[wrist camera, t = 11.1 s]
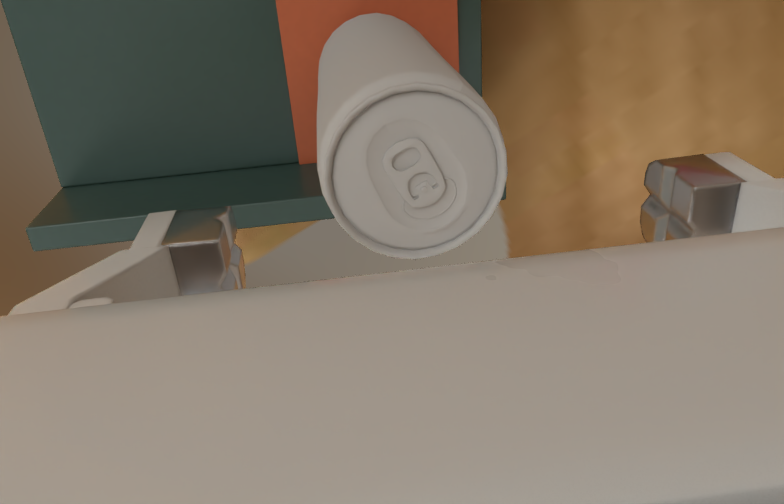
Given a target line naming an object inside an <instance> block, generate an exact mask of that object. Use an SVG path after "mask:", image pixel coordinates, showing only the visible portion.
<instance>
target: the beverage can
mask: <svg viewBox="0 0 784 504" xmlns="http://www.w3.org/2000/svg"><path fill="white" fill-rule="evenodd" d="M317 170H318V175H319V180H320V185H321V190H322V194H323V196H324V198H325V200H326V202H327V204H328V206H329V208H330V210H331V212H332V214H333V215H334V217H335V219H336V221H337V222H338V224H339V225H340V226H341V227H342V228H343V229H344V230H345V231H346V232H347V233H348V235H350V237H351V238H352V239H353V240H355V241H356V242H358V243H360V244H361V245H363V246H364V247H366V248H368V249H369V250H371V251H373V252H376V253H379V254H382V255H385V256H389V257H392V258H403V259H420V258H427V257H432V256H438V255H440V254H443V253H445V252H448V251H450V250H452V249H455V248H457V247H459V246H460V245H462V244H463V243H465V242H466V241H468V240H469V239H470V238H472V237H473V236H474V235H476V234H477V233H478V232H479V231H480V230H481V229H482V227H483V226H484V225H485V224H486V223H487V222H488V220H489V219H490V218H491V217H492V215H493V214H494V212H495V210H496V208H497V206H498V204H499V202H500V200H501V198H502V196H503V192H504V187H505V183H506V178H507V174H508V172H507V155H506V148H505V145H504V140H503V137H502V134H501V131H500V128H499V125H498V122H497V119H496V117H495V115H494V114H493V113H492V111H491V110H490V108H489V107H488V106H487V104H486V103H485V101H484V100H483V99H482V97H481V96H480V95H479V94H478V93H477V92H476V91H475V89H474V88H473V87H472V86H471V85H470V84H469V83H468V82H467V81H466V80H465V79H464V78H463V77H462V76H461V75H460V74H459V73H458V72H457V71H456V70H455V69H454V68H453V67H452V66H451V65H450V64H449V63H448V62H447V61H446V60H445V59H444V58H443V57H442V56H441V55H440V54H439V53H438V52H437V51H436V50H435V49H434V48H433V47H432V46H431V44H430V43H429V42H428V41H427V40H426V39H425V38H424V37H423V36H422V35H421V33H420V32H419V31H417V30H416V29H414V28H413V27H412V26H410V25H409V24H408V23H406V22H404V21H402V20H400V19H398V18H396V17H394V16H392V15H386V14H381V13H371V14H364V15H359V16H357V17H355V18H352V19H350V20H348V21H346V22H344V23H343V24H342V25H341V26H340V27H338V28H337V29H336V30H335V31H334V32H333V33H332V34H331V36H330V37H329V39H328V40H327V42H326V43H325V45H324V47H323V51H322V54H321V57H320V60H319V70H318V101H317Z"/></svg>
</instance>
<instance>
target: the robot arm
mask: <svg viewBox="0 0 784 504" xmlns="http://www.w3.org/2000/svg"><path fill="white" fill-rule="evenodd" d="M644 186H645V187H646V189H647V190H648V192H649V193H650V195H649V197H648V198H647V199H646V201H645V202H644V203H643V204H642V206H641V217H640V224H641V229H642V235H643V237H644V239H645V241H646V243H639V244H630V245H621V246H613V247H604V248H595V249H586V250H578V251H569V252H560V253H551V254H543V255H534V256H525V257H516V258H508V259H500V260H490V261H481V262H473V263H464V264H456V265H448V266H438V267H429V268H420V269H412V270H403V271H394V272H386V273H377V274H368V275H360V276H350V277H342V278H333V279H324V280H316V281H307V282H298V283H290V284H280V285H272V286H264V287H255V288H245V286H246V285H245V268H244V260H243V255H242V250H241V249H240V248H239V247H238V246H237V245H236V244H235V243H234V242H235V237H236V233H237V225H236V221H235V217H234V213H233V210H232V208H231V206H225V207H214V208H203V209H191V210H180V211H177V210H173V211H164V212H156V213H149V214H148V215H147V217H146V219H145V221H144V223H143V225H142V227H141V228H140V230H139V232H138V234H137V236H136V238H135V240H134V241H133V243H132V245H131V247H130V249H128V250H121V251H119V252H117V253H115V254H113V255H111V256H109V257H107V258H105V259H103V260H102V261H100V262H98V263H96V264H94V265H92V266H90V267H88V268H86V269H84V270H82V271H80V272H79V273H77V274H75V275H73V276H71V277H69V278H67V279H65V280H63V281H61V282H59V283H58V284H55V285H54V286H52V287H50V288H48V289H46V290H44V291H42V292H40V293H38V294H36V295H34V296H32V297H31V298H29V299H27V300H25V301H23V302H21V303H19V304H17V305H15V306H14V308H13V309H12V310H11V312H10V313H9V314H8V316H0V504H784V178H779V179H775V178H773V177H771V176H770V175H768V174H766V173H765V172H763V171H761V170H759V169H758V168H756V167H754V166H753V165H751V164H749V163H748V162H746V161H744V160H742V159H741V158H739V157H737V156H736V155H734V154H732V153H730V152H721V153H713V154H705V155H704V154H700V155H692V156H684V157H677V158H669V159H661V160H655V161H653V162H651V163H649V165H648V167H647V170H646V173H645V180H644Z"/></svg>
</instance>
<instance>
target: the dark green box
mask: <svg viewBox="0 0 784 504" xmlns="http://www.w3.org/2000/svg"><path fill="white" fill-rule="evenodd" d="M1 2H2V5H3V9H4V12H5V15H6V17H7V21H8V24H9V27H10V30H11V33H12V36H13V39H14V43H15V46H16V49H17V52H18V55H19V58H20V61H21V64H22V67H23V70H24V73H25V76H26V79H27V83H28V85H29V89H30V91H31V94H32V98H33V101H34V104H35V107H36V110H37V113H38V116H39V119H40V122H41V125H42V129H43V132H44V135H45V138H46V141H47V144H48V147H49V150H50V153H51V156H52V159H53V162H54V166H55V169H56V172H57V174H58V178H59V181H60V184H61V187H63V188H62V189H61V190H60V191H59V192H58V193H57V195H56V196H55V197H54V198H53V199H52V200H51V201H50V202H49V203H48V204H47V206H46V207H45V208H44V209H43V210H42V211H41V212H40V213H39V214H38V215H37V216H36V217H35V219H34V220H33V221H32V222H31V223H30V224H29V225H28V226H27V227H26V232H27V235H28V238H29V240H30V243H31V246H32V249H33V251H42V250H51V249H60V248H70V247H78V246H88V245H97V244H106V243H114V242H124V241H133V240H135V238H136V236H137V234H138V232H139V230H140V228H141V227H142V225H143V223H144V221H145V219H146V217H147V215H148V214H149V213H156V212H164V211H173V210H177V211H180V210H191V209H203V208H214V207H225V206H231V208H232V210H233V213H234V217H235V221H236V225H237V229H242V228H251V227H260V226H269V225H278V224H287V223H296V222H305V221H314V220H323V219H332V218H335V217H334V215H333V214H332V212H331V210H330V208H329V206H328V204H327V202H326V200H325V198H324V196H323V194H322V190H321V185H320V180H319V175H318V170H317V101H318V70H319V60H320V57H321V54H322V51H323V47H324V45H325V43H326V42H327V40H328V39H329V37H330V36H331V34H332V33H333V32H334V31H335V30H336V29H337V28H338V27H340V26H341V25H342V24H343V23H344V22H346V21H348V20H350V19H352V18H355V17H357V16H359V15H364V14H371V13H381V14H386V15H392V16H394V17H396V18H398V19H400V20H402V21H404V22H406V23H408V24H409V25H410V26H412V27H413V28H414V29H416V30H417V31H419V32H420V33H421V35H422V36H423V37H424V38H425V39H426V40H427V41H428V42H429V43H430V44H431V46H432V47H433V48H434V49H435V50H436V51H437V52H438V53H439V54H440V55H441V56H442V57H443V58H444V59H445V60H446V61H447V62H448V63H449V64H450V65H451V66H452V67H453V68H454V69H455V70H456V71H457V72H458V73H459V74H460V75H461V76H462V77H463V78H464V79H465V80H466V81H467V82H468V83H469V84H470V85H471V86H472V87H473V88H474V89H475V91H476V92H477V93H478V94H479V95H480V96H481V97H482V45H481V0H1ZM504 199H506V183H505V187H504V192H503V196H502V198H501V200H504Z"/></svg>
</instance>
